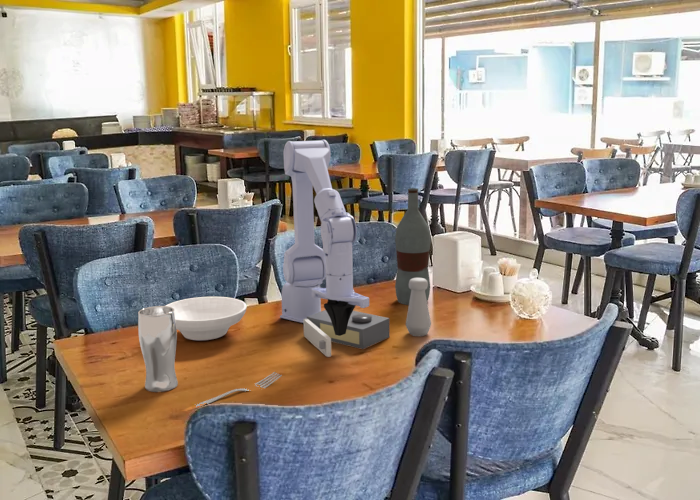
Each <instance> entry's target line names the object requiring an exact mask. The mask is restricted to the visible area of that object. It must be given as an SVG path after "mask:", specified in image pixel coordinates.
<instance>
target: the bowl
mask: <svg viewBox="0 0 700 500" xmlns="http://www.w3.org/2000/svg"><path fill="white" fill-rule="evenodd" d="M165 306H168V307H172V308H173V309H174V314H175V320H176V329H177V331H179V332H180V333H181V334H182V336H183V337H184V338H185V339H187V340H192V341H209V340H214V339H219V338H221V337H223V336H225V335H226V334H227V332H228V331H229V329H230V327H231V326H234V325H236V324H238V323H239V322H240V321H241V320H242V318H243V317H244V315H245V313H246V312H247V303H246V302H245V301H243V300H241V299H237V298H234V297H229V296H228V297H226V296H201V297H200V296H199V297H198V296H197V297H191V298H184V299H181V300H177V301H173V302H170V303H168V304H166V305H165Z"/></svg>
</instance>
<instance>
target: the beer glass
mask: <svg viewBox="0 0 700 500" xmlns="http://www.w3.org/2000/svg"><path fill="white" fill-rule="evenodd" d="M137 314H138V315H137V316H138V317H137V318H138V321H137V322H138V323H137V324H138V325H137V326H138V330H137V331H138V340H139V346H140V349H141V353H142V357H143V361H144V365H145V381H144V388H145V389H146V391H148V392H151V393H153V392H154V393H163V392H167V391H171V390H173V389H176V388H177V387H178V384H179V382H178V379H177V374H176V368H175V361H176V360H175V359H176V350H177V341H178V340H177V339H178V332H177V331H178V330H177V329H176V320H175V314H174V309H173V308H172V307H168V306H166V305H154V306H149V307H148V306H147V307H144V308H142V309H140V310H139V311H138V312H137Z"/></svg>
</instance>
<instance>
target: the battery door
mask: <svg viewBox="0 0 700 500" xmlns="http://www.w3.org/2000/svg"><path fill="white" fill-rule="evenodd" d="M302 324H303V337H304V338H306V339H307V341H308V342H310V343H311V344H312V345H313V346H314V347H315V348H316V349H317V350H319V351H320V352H321V353H322V354H323V355H324V356H325V357H326V358H330V357H332V342H331V338H330V337H329V336H328V335H327V334H325V333H324V332H323V331H322V330H321V329H319V328H318V327H317V326H316V325H315V324H313V323H312V322H311V321H310V320H309V319H307V318H304V319H303V323H302Z"/></svg>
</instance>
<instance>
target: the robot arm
mask: <svg viewBox="0 0 700 500" xmlns="http://www.w3.org/2000/svg"><path fill="white" fill-rule="evenodd" d="M283 148H284V149H283V168H284V169H283V170H284V175H285V176H289V177H291V183H292V201H293V203H292V205H293V224H294V225H293V227H294V228H293V229H294V244H292V245H291V246H290V247H289V248H288V249H286V250H285V252H284V253H283V265H282V270H283V271H282V272H283V273H282V274H283V276H284V277H283V278H284V281H286V282H285V283H284V284H283V286H282V288H281V295H280V296H281V315H280V316H279V318H281V319H284V320H289V321H294V322H297V323H301V324H304V323H303V319H304V318H307V317H308V316H310V315H313V314H316V313H318V312H321V311H322V305H321V304H322V303H321V302H322V301H321V299H323V300H327V302H326V303H324V304H323V308H324V310H326V311H327V313H328V315H329V317H330V319H331V322H332V325H333V328H334V332H335V335H338V336H341V335H344V334H346V329H347V325H348V321H349V318H350V316H351V314H352V312H353V311H355V308H356V307H360V308H361V309H365V308H368V307H370V297H368V296H364V295H362V294H360V293H357V292H355V290H354V286H353V285H354V274H353V273H354V272H353V271H354V270H353V268H354V267H353V265H354V263H353V244H354V243H355V241H357V234H358V231H357V223H356V221H355V218H354V216H353V215H351V214H350V213H349V212H346V211H347V210H346V208H345V206H344V203H343V200H342V198H341V195H340V193H339V191H337V190H336V189H334V188H333V186H332V183H331V177H330V174H329V170H328V169H329V165H330V161H331V155H332V153H331V147H330V144H329V142H328V141H327V140H326V139H321V140H298V141H297V140H296V141H295V140H293V141H291V140H288V141H286V143H285V145H284V147H283ZM313 190H314V191H315V193H316V195H315V196H314V194H313V193H314V191H313ZM314 205H315V209H316V210H317V215H318V216H319V220H320V223H321V224H320V237H321V241H322V248H321V247H320V246H319V245H317V244H316V242H315V239H316V238H315V220H314V219H315V217H314V216H315V215H314ZM324 280H325V287H321V284H323V281H324Z"/></svg>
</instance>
